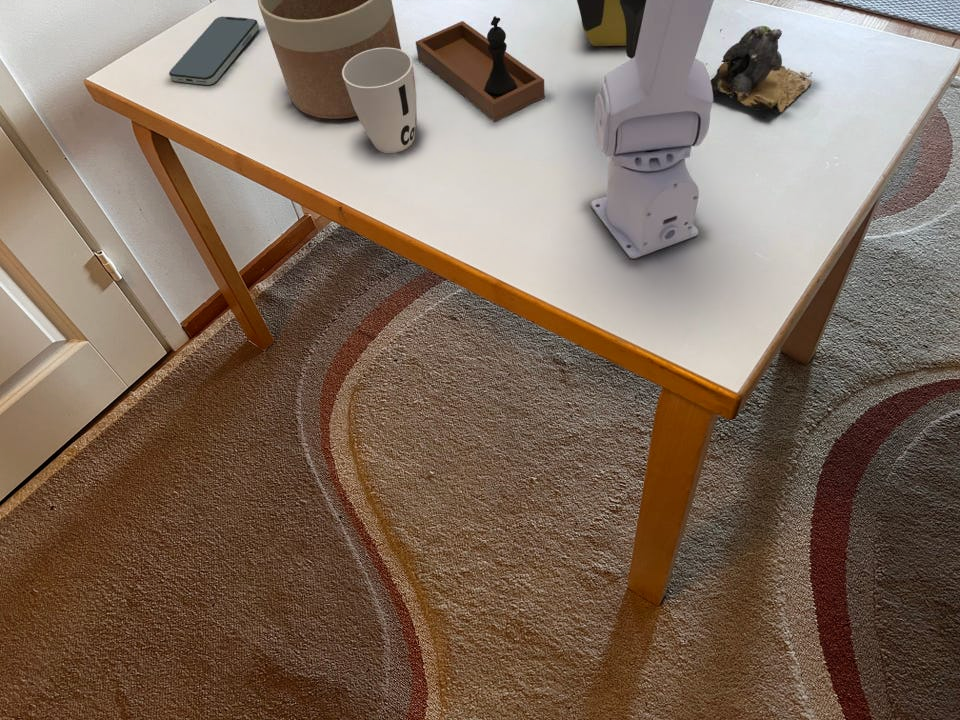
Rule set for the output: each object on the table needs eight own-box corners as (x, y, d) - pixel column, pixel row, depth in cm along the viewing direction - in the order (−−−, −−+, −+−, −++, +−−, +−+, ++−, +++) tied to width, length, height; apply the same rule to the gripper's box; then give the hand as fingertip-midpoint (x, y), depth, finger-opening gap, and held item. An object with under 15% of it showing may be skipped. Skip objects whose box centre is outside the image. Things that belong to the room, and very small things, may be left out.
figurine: (813, 84, 88) (841, 18, 79) (765, 135, 86) (788, 73, 77) (744, 48, 92) (763, -20, 83) (696, 95, 90) (711, 32, 81)
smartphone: (164, 73, 102) (216, 14, 109) (170, 84, 103) (221, 25, 111) (210, 78, 100) (259, 18, 107) (215, 89, 101) (263, 28, 109)
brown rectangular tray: (544, 97, 92) (544, 79, 90) (494, 122, 90) (493, 104, 88) (464, 38, 102) (462, 20, 100) (418, 59, 100) (415, 41, 98)
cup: (416, 162, 87) (401, 89, 79) (353, 159, 88) (332, 86, 80) (432, 121, 91) (419, 48, 83) (372, 119, 93) (354, 46, 85)
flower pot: (581, 20, 102) (582, -46, 95) (643, 19, 101) (649, -48, 93) (577, 55, 97) (578, -12, 90) (643, 54, 96) (649, -14, 88)
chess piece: (524, 88, 93) (521, 12, 84) (503, 105, 91) (497, 30, 83) (498, 78, 94) (492, 3, 86) (476, 95, 93) (468, 20, 85)
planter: (418, 55, 101) (400, -47, 90) (390, 125, 92) (367, 21, 80) (312, 54, 103) (282, -45, 92) (275, 122, 94) (237, 20, 83)
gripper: (544, -100, 73) (547, 28, 84) (639, -53, 66) (628, 81, 76) (598, -121, 75) (594, 6, 86) (697, -78, 67) (678, 56, 78)
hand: (613, 40), depth 81 cm, fingers open, 7 cm apart
